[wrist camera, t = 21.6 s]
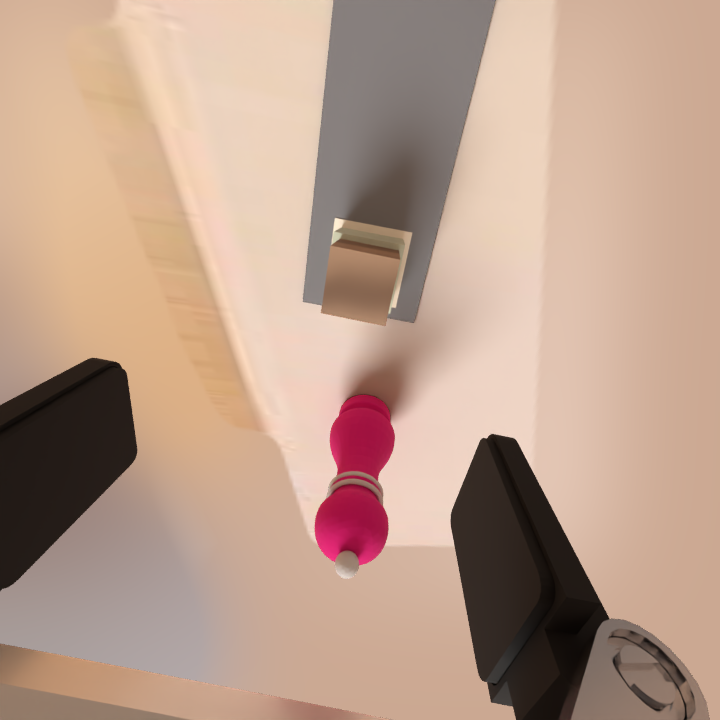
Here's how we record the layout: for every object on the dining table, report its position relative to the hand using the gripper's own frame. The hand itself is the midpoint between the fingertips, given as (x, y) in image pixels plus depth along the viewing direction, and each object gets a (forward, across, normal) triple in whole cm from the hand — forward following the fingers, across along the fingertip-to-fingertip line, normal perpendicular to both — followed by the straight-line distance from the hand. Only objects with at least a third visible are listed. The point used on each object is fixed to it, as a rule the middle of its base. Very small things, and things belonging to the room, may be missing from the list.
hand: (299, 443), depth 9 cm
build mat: (+28, 0, -9) cm, 30 cm away
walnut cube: (+23, 0, 0) cm, 23 cm away
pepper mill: (+28, -3, +18) cm, 34 cm away
